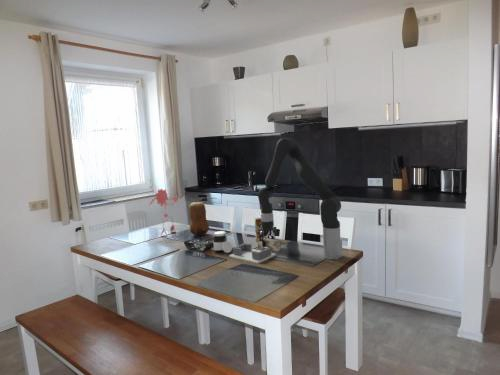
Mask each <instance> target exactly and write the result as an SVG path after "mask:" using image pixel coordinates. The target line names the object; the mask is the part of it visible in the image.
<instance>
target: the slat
mask: <svg viewBox="0 0 500 375" xmlns="http://www.w3.org/2000/svg"><path fill="white" fill-rule="evenodd" d="M261 239H262V238H261ZM264 239H265V238H264ZM262 247H263V246H262V241H260V240H259V239H258V241H257V249H261V250H262ZM266 247H269V248H271V251H274V252H279V251H281V250H282V248H281V240H280V239H276V238H275V239H271V238H270V237H269V238H267V239H266Z"/></svg>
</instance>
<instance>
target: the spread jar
mask: <svg viewBox="0 0 500 375" xmlns="http://www.w3.org/2000/svg"><path fill="white" fill-rule="evenodd" d="M213 234H214V235H213V236H214V237H213V242H212V244H213V249H214V250H213V251H214V252H215V253H226V254H229V253H231V252H232V251H233V248H232V247H233V246H232V244H231V242H229V241H228V237H227V235H226V231H224V230H222V231H220V230H219V231H215V232H214V233H213Z"/></svg>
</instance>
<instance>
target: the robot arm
mask: <svg viewBox="0 0 500 375" xmlns="http://www.w3.org/2000/svg"><path fill="white" fill-rule="evenodd" d="M286 156H288V157H289V158H290V160H292V163H293V164H294V166H295V169H296V172H297V175H298V176H299V178H300V180H301V181H302V183H303V184H304V185H305V186H306V187H307V188H309V189H310V190H311V191H312V192H314V193H315V194H316V195H317V196H318V197H319V198H320V200H321V201H322V202H321V203H320V220H321V224H322V238H323V240H322V241H323V258H325V259H327V260H339V259H341V258H342V257H343V239H341V222H340V221H339V219H338V212H340V211H341V209H342V203H341V201H340V199H339V198H338V197H337V196H336V195H335V193H334V192H333V191H332V190H331V189H330V188H329V187H328V186H327V184H326V182H325V181H324V180H323V179H322V178H321V176H320V175H319V173H318V172H317V171H316V169H315V168H314V167H313V166H312V164H311V163H310V161H309V160H308V159H307V157H306V156H305V155H304V154H303V152H302V150H301V149H300V148H299V145H298V143H297V142H296V141H295V140H294V138H292V137H283V138H280V139H279V140H277V143H276V146H275V149H274V154H273V157H272V161H271V164H270V167H269V170H268V173H267V174H266V177H265V180H264V183H265V187H262V188H260V189H259V190H258V192H257V198H258V202H259V205H260V212H261V213H260V218H261V225H262V228H263V231H259V240H260V241H262V246H263V247H266V239H267V238H268V236H269V237H270V239H276V237H277V236H278V233H277V226H275V224H274V222H275V221H274V212H273V209H274V208H273V203H271V202H270V200H269V199H270V198H272V197H273V196H274V194H275V192H276V186H277V183H278V181H279V178H280V176H281V174H282V173H281V171H282V164H283V162H284V160H285V158H286ZM264 235H265V236H264ZM261 237H262V239H261ZM264 238H265V239H264Z"/></svg>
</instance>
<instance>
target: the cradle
mask: <svg viewBox="0 0 500 375" xmlns="http://www.w3.org/2000/svg"><path fill="white" fill-rule="evenodd" d="M252 246H253V245H252V243H247V242H245V243H242V244H239V245H236V246H234V247H233V248H232V253H231V254H229V255H228V257H229V258H232V259H235V260H240V261H244V262H248V263H253V264H255V265H257V264H261V263H262V262H265V261H267V260H268V259H271V258H273V257H275V256H276V253H274V252H272V250H271V248H269V247H262V249H261V250H258V249H254V248H252Z"/></svg>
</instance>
